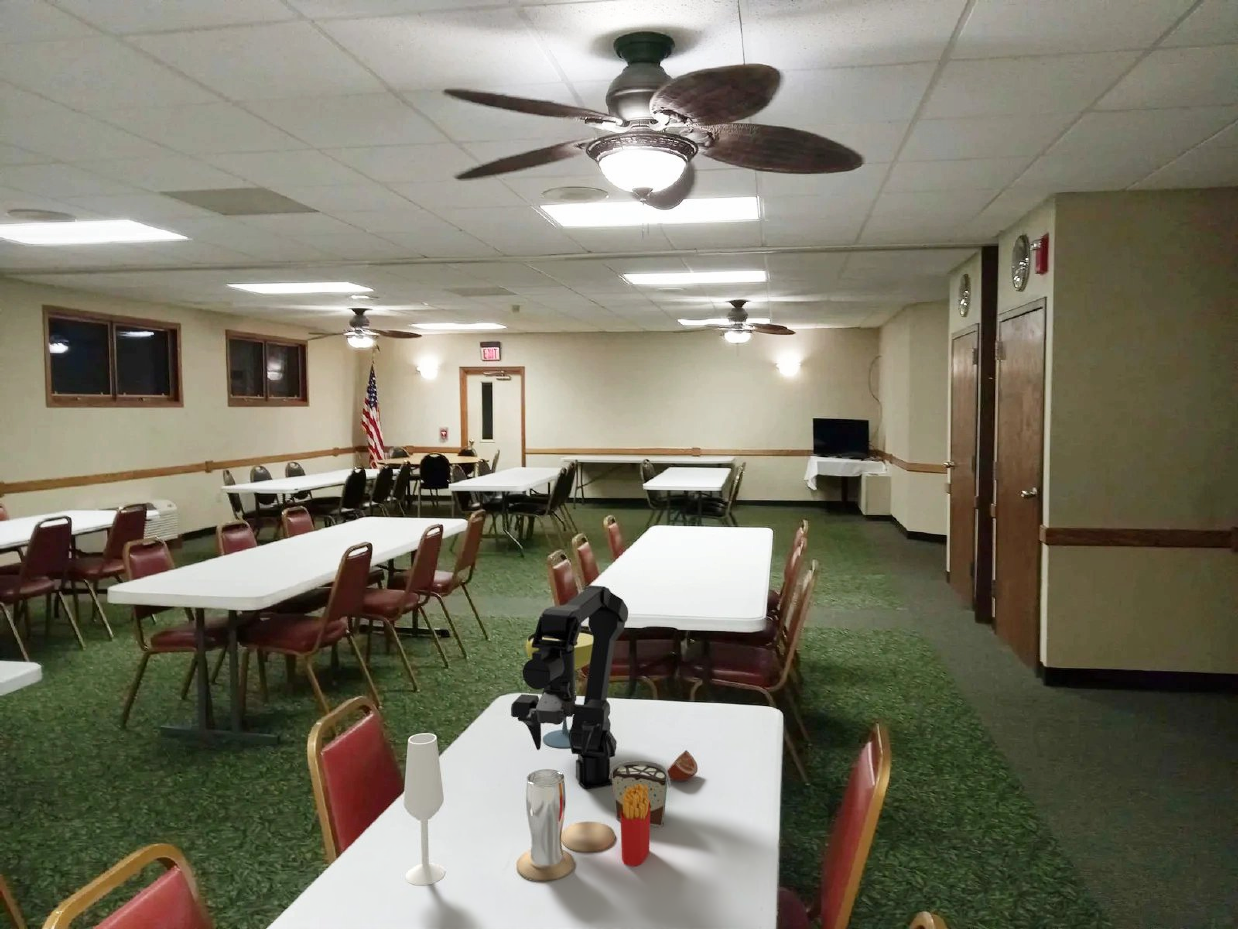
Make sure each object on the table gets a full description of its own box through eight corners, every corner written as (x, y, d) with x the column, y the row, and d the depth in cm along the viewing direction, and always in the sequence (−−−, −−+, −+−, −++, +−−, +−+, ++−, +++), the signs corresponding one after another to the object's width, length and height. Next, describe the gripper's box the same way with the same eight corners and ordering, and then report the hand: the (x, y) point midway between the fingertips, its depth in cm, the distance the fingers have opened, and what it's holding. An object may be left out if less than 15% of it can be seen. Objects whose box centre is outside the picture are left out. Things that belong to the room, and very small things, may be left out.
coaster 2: (603, 820, 161) (603, 817, 161) (622, 845, 152) (622, 842, 152) (554, 830, 158) (554, 827, 158) (570, 856, 148) (570, 853, 148)
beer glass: (567, 869, 143) (566, 784, 142) (527, 872, 142) (525, 787, 141) (565, 848, 150) (564, 767, 149) (526, 851, 149) (525, 770, 148)
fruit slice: (673, 768, 185) (673, 746, 184) (702, 773, 182) (702, 751, 182) (660, 784, 177) (660, 761, 177) (690, 789, 174) (690, 766, 174)
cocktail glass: (560, 719, 214) (559, 624, 212) (616, 735, 203) (616, 635, 202) (511, 743, 199) (510, 640, 197) (570, 761, 189) (569, 653, 187)
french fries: (637, 870, 144) (637, 803, 143) (616, 865, 145) (616, 799, 145) (654, 846, 152) (654, 782, 151) (634, 842, 153) (634, 779, 152)
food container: (678, 813, 164) (678, 764, 163) (669, 828, 158) (669, 777, 158) (619, 804, 168) (618, 756, 167) (609, 818, 162) (608, 768, 162)
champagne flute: (408, 889, 139) (405, 749, 137) (402, 869, 145) (399, 734, 143) (449, 879, 141) (446, 742, 140) (441, 860, 147) (438, 728, 146)
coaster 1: (564, 846, 152) (563, 842, 152) (581, 874, 143) (581, 871, 143) (510, 856, 148) (510, 853, 148) (524, 886, 139) (524, 883, 139)
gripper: (500, 683, 156) (501, 764, 157) (596, 690, 152) (597, 773, 153) (520, 665, 166) (521, 741, 168) (610, 671, 162) (611, 749, 163)
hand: (561, 751), depth 162 cm, fingers open, 9 cm apart
